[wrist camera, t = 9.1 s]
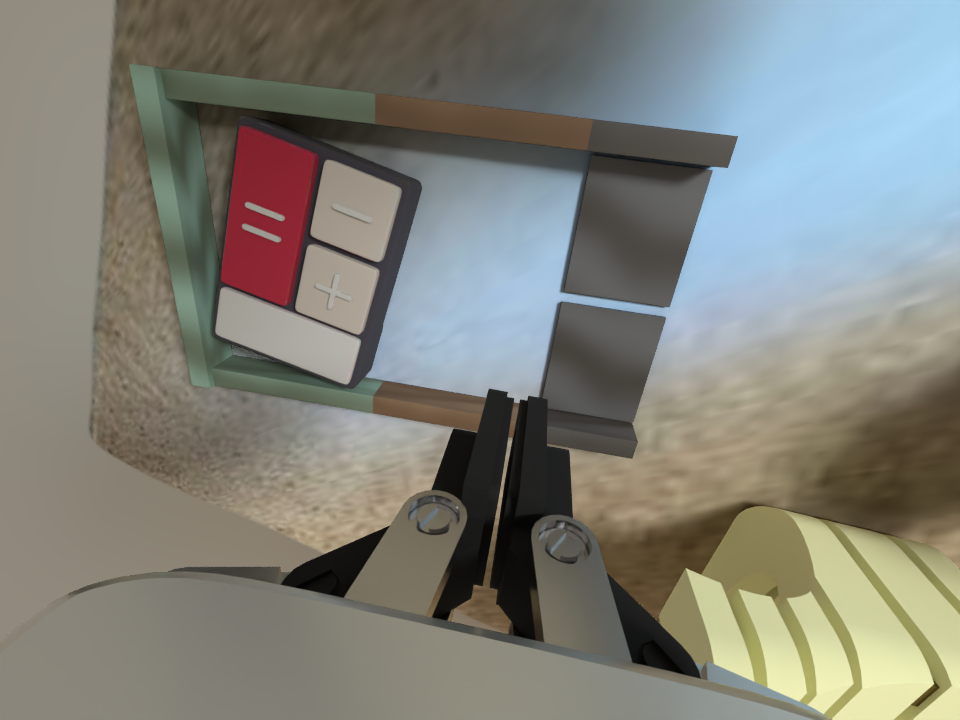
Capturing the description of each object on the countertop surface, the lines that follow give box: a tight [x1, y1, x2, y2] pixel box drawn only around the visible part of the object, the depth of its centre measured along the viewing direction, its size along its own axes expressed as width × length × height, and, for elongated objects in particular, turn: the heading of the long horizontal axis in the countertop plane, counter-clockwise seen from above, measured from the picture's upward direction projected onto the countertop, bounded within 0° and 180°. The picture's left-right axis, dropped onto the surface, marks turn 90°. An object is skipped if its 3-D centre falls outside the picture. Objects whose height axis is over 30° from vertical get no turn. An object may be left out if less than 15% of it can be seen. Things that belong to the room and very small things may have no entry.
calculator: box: [213, 116, 422, 389], centre depth 30 cm, size 11×4×15 cm
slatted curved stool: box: [659, 506, 960, 720], centre depth 30 cm, size 30×16×18 cm, turn 79°
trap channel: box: [129, 64, 738, 459], centre depth 30 cm, size 21×34×3 cm, turn 84°
